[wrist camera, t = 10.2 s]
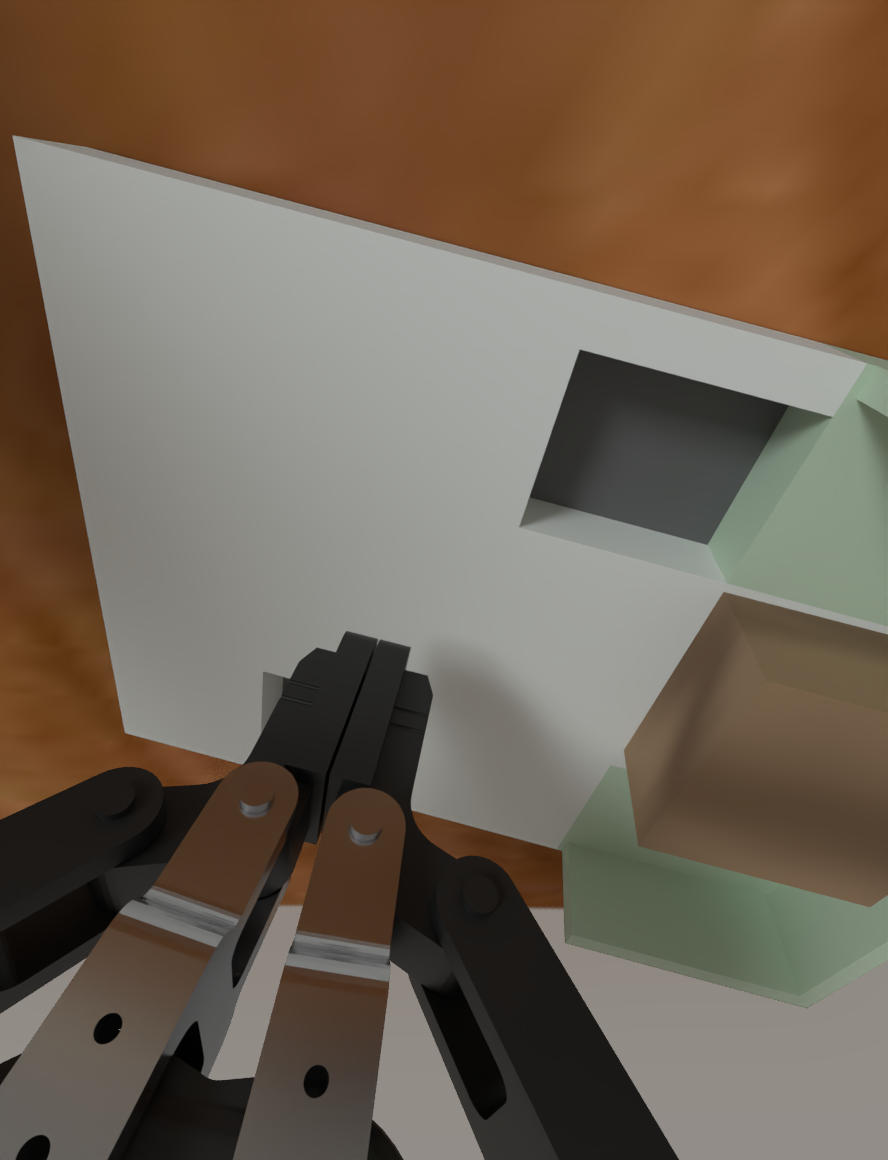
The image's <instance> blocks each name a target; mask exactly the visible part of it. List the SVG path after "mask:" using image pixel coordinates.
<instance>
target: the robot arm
mask: <svg viewBox="0 0 888 1160" xmlns="http://www.w3.org/2000/svg"><path fill="white" fill-rule="evenodd" d="M377 644H378V645H377ZM410 650H411V647H409V646H405V645H401V644H397V643H393V642H389V641H385V640H381V639H380V640H379V643H378V639H377V638H373V637H369V636H365V635H361V634H357V633H353V632H349V631H346V632H345V634H344V635H343V638H342V640H341V642H340V644H339V646H338V649H337V651H336V652H333V651H329V650H325V649H321V648H316V649H314V650H313V651H312V652H310V653H309V654H308V655H307V656H305V657H304V658H303V659H301V660H300V661H299V663H298V665H297V666H296V668H295V670H294V672H293V674H292V676H291V678H290V680H289V683H288V684H287V685H286V687H285V689H284V691H283V693H282V695H281V698H280V699H279V701H278V702H277V704H276V706H275V708H274V710H273V712H272V714H271V716H270V718H269V720H268V721H267V723H266V725H265V727H264V729H263V731H262V733H261V735H260V737H259V738H258V740H257V742H256V744H255V746H254V748H253V750H252V752H251V754H250V755H249V757H248V758H247V760H246V761H245V762H244V764H243V765H242V766H240V767H238V768H236V769H234V770H233V771H232V772H230V773H229V774H228V775H227V776H226V777H225V778H223V779H220V780H218V781H215V782H212V783H208V784H201V785H188V786H171V787H162V785H161V782H160V781H159V779H158V778H157V777H156V776H155V775H154V774H152V773H151V772H149V771H147V770H144V769H141V768H135V767H122V768H116V769H112V770H108V771H106V772H103V773H101V774H99V775H96V776H94V777H92V778H90V779H88V780H86V781H83V782H81V783H79V784H77V785H75V786H73V787H70V788H68V789H66V790H64V791H62V792H60V793H57V794H55V795H53V796H51V797H49V798H47V799H44V800H42V801H40V802H38V803H36V804H34V805H32V806H29V807H27V808H25V809H23V810H21V811H19V812H16V813H14V814H12V815H10V816H8V817H6V818H3V819H1V820H0V1013H2V1012H4V1011H5V1010H7V1009H8V1008H10V1007H11V1006H13V1005H14V1004H16V1003H17V1002H19V1001H21V1000H22V999H24V998H25V997H27V996H28V995H30V994H31V993H33V992H34V991H36V990H37V989H39V988H40V987H42V986H44V985H45V984H47V983H48V982H50V981H51V980H53V979H54V978H56V977H57V976H59V975H61V974H62V973H64V972H65V971H66V970H68V969H70V968H71V967H73V966H74V965H76V964H78V963H79V962H81V961H82V960H84V959H85V958H86V960H85V962H84V963H83V964H82V966H81V967H80V969H79V970H78V972H77V973H76V975H75V976H74V978H73V979H72V981H71V982H70V984H69V985H68V987H67V988H66V989H65V991H64V992H63V994H62V995H61V997H60V998H59V1000H58V1001H57V1003H56V1004H55V1006H54V1007H53V1009H52V1010H51V1012H50V1013H49V1015H48V1016H47V1017H46V1019H45V1020H44V1022H43V1023H42V1025H41V1026H40V1028H39V1029H38V1031H37V1032H36V1034H35V1035H34V1037H33V1038H32V1040H31V1041H30V1042H29V1044H28V1045H27V1047H26V1048H25V1050H24V1051H23V1053H22V1054H20V1055H18V1056H16V1057H13V1058H11V1059H9V1060H7V1061H5V1062H3V1063H1V1064H0V1160H403V1158H402V1156H401V1155H400V1153H399V1151H398V1150H397V1148H396V1146H395V1145H394V1144H393V1143H392V1141H391V1140H390V1138H389V1137H388V1136H387V1135H386V1133H385V1132H384V1131H383V1129H381V1127H380V1126H378V1125H377V1124H376V1123H375V1122H374V1121H373V1120H372V1117H373V1108H374V1100H375V1093H376V1085H377V1077H378V1069H379V1061H380V1054H381V1045H382V1038H383V1030H384V1022H385V1014H386V1006H387V998H388V990H389V979H390V961H391V962H393V963H394V964H396V965H397V966H398V967H400V968H401V969H402V970H404V971H405V972H406V973H408V975H409V979H410V981H411V984H412V987H413V989H414V992H415V994H416V996H417V999H418V1001H419V1004H420V1006H421V1008H422V1011H423V1013H424V1015H425V1018H426V1020H427V1023H428V1025H429V1027H430V1030H431V1032H432V1034H433V1037H434V1039H435V1042H436V1044H437V1047H438V1049H439V1051H440V1054H441V1056H442V1058H443V1061H444V1063H445V1066H446V1068H447V1070H448V1073H449V1075H450V1078H451V1080H452V1082H453V1085H454V1087H455V1090H456V1092H457V1094H458V1097H459V1099H460V1102H461V1104H462V1106H463V1109H464V1111H465V1114H466V1116H467V1118H468V1121H469V1123H470V1125H471V1128H472V1130H473V1133H474V1135H475V1137H476V1140H477V1142H478V1145H479V1147H480V1149H481V1152H482V1154H483V1157H484V1159H485V1160H679V1159H678V1157H677V1156H676V1154H675V1152H674V1151H673V1149H672V1147H671V1146H670V1144H669V1142H668V1141H667V1139H666V1137H665V1136H664V1134H663V1132H662V1131H661V1129H660V1128H659V1126H658V1124H657V1122H656V1121H655V1119H654V1117H653V1116H652V1114H651V1112H650V1111H649V1109H648V1107H647V1106H646V1104H645V1102H644V1101H643V1099H642V1097H641V1096H640V1094H639V1092H638V1090H637V1089H636V1087H635V1086H634V1084H633V1082H632V1081H631V1079H630V1077H629V1076H628V1074H627V1072H626V1070H625V1069H624V1067H623V1065H622V1064H621V1062H620V1060H619V1059H618V1057H617V1055H616V1054H615V1052H614V1050H613V1049H612V1047H611V1045H610V1044H609V1042H608V1040H607V1039H606V1037H605V1035H604V1034H603V1032H602V1030H601V1029H600V1027H599V1025H598V1024H597V1022H596V1020H595V1019H594V1017H593V1015H592V1014H591V1012H590V1010H589V1009H588V1007H587V1005H586V1004H585V1002H584V1000H583V999H582V997H581V995H580V994H579V992H578V990H577V989H576V987H575V985H574V983H573V982H572V980H571V978H570V977H569V975H568V973H567V972H566V970H565V968H564V967H563V965H562V963H561V962H560V960H559V959H558V957H557V955H556V953H555V952H554V950H553V949H552V947H551V945H550V943H549V942H548V940H547V938H546V937H545V935H544V933H543V932H542V930H541V928H540V927H539V925H538V923H537V922H536V920H535V919H534V917H533V915H532V913H531V912H530V910H529V908H528V907H527V905H526V903H525V902H524V900H523V898H522V897H521V895H520V893H519V892H518V890H517V888H516V886H515V885H514V883H513V881H512V880H511V878H510V877H509V876H508V874H507V873H506V872H505V871H504V870H503V869H502V868H501V867H500V866H499V865H497V864H496V863H494V862H493V861H491V860H489V859H486V858H483V857H479V856H465V857H461V858H459V859H455V858H454V857H452V856H451V855H449V854H448V853H446V852H445V851H443V850H442V849H440V848H438V847H437V846H435V845H434V844H433V843H431V842H430V841H429V840H428V839H427V838H426V837H425V836H424V835H423V834H422V833H421V831H420V830H419V829H418V827H417V825H416V823H415V821H414V818H413V815H412V810H411V797H412V791H413V787H414V782H415V778H416V773H417V768H418V764H419V759H420V754H421V750H422V745H423V740H424V736H425V731H426V726H427V722H428V717H429V712H430V708H431V703H432V698H433V693H432V689H431V685H430V682H429V678H428V676H427V675H423V674H419V673H415V672H412V671H408V670H406V667H407V663H408V659H409V655H410ZM321 830H322V833H321ZM320 833H321V839H320V843H319V847H318V851H317V854H316V858H315V862H314V866H313V870H312V873H311V877H310V881H309V885H308V889H307V892H306V896H305V900H304V904H303V908H302V912H301V916H300V919H299V923H298V927H297V930H296V934H295V938H294V941H293V943H292V946H291V947H290V950H289V953H288V956H287V960H286V963H285V966H284V970H283V973H282V977H281V981H280V984H279V988H278V992H277V996H276V1000H275V1003H274V1007H273V1011H272V1014H271V1018H270V1023H269V1026H268V1030H267V1033H266V1037H265V1041H264V1044H263V1048H262V1052H261V1056H260V1059H259V1063H258V1067H257V1071H256V1074H255V1077H254V1078H253V1077H252V1078H243V1079H232V1080H221V1081H220V1080H217V1081H216V1080H211V1079H209V1078H208V1076H209V1073H210V1071H211V1069H212V1067H213V1065H214V1062H215V1060H216V1058H217V1055H218V1053H219V1051H220V1049H221V1046H222V1044H223V1041H224V1039H225V1036H226V1034H227V1031H228V1028H229V1026H230V1023H231V1020H232V1017H233V1014H234V1010H235V1006H236V1003H237V1000H238V997H239V994H240V992H241V989H242V987H243V985H244V982H245V980H246V977H247V976H248V973H249V971H250V969H251V966H252V964H253V962H254V960H255V958H256V955H257V953H258V951H259V949H260V946H261V944H262V942H263V940H264V938H265V935H266V933H267V931H268V929H269V927H270V924H271V922H272V920H273V918H274V915H275V913H276V911H277V909H278V907H279V904H280V902H281V900H282V898H283V895H284V893H285V891H286V889H287V887H288V884H289V881H290V879H291V874H292V872H293V870H294V868H295V865H296V862H297V860H298V857H299V854H300V851H301V849H302V846H303V843H304V842H308V843H312V844H317V841H318V838H319V835H320ZM389 960H390V961H389ZM118 1029H121V1030H118Z"/></svg>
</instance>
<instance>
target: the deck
mask: <svg viewBox="0 0 888 1160" xmlns="http://www.w3.org/2000/svg"><path fill="white" fill-rule="evenodd" d="M12 136H13V135H12ZM13 141H14V146H15V152H16V157H17V162H18V168H19V173H20V178H21V184H22V189H23V194H24V199H25V205H26V210H27V215H28V221H29V226H30V231H31V237H32V242H33V247H34V253H35V258H36V263H37V268H38V274H39V279H40V284H41V290H42V295H43V300H44V306H45V311H46V316H47V322H48V327H49V332H50V337H51V343H52V348H53V353H54V359H55V364H56V369H57V375H58V380H59V385H60V391H61V396H62V401H63V406H64V412H65V417H66V422H67V428H68V433H69V438H70V444H71V449H72V454H73V460H74V465H75V470H76V475H77V481H78V486H79V491H80V497H81V502H82V507H83V513H84V518H85V523H86V528H87V534H88V539H89V544H90V550H91V555H92V560H93V566H94V571H95V576H96V582H97V587H98V592H99V597H100V603H101V608H102V613H103V619H104V624H105V629H106V635H107V640H108V645H109V651H110V656H111V661H112V666H113V672H114V677H115V682H116V688H117V693H118V698H119V704H120V709H121V714H122V720H123V725H124V730H125V733H127V734H131V735H134V736H138V737H142V738H146V739H149V740H153V741H157V742H160V743H164V744H168V745H172V746H175V747H179V748H183V749H186V750H190V751H194V752H197V753H201V754H205V755H209V756H212V757H216V758H220V759H223V760H227V761H231V762H235V763H238V764H242V765H243V764H244V762H245V761H246V760H247V758H248V757H249V755H250V754H251V752H252V750H253V748H254V746H255V744H256V742H257V740H258V738H259V737H260V735H261V733H262V731H263V729H264V727H265V725H266V723H267V721H268V720H269V718H270V716H271V714H272V712H273V710H274V708H275V706H276V704H277V702H278V701H279V699H280V698H281V695H282V693H283V691H284V689H285V687H286V685H287V684H288V683H289V680H290V678H291V676H292V674H293V672H294V670H295V668H296V666H297V665H298V663H299V661H300V660H301V659H303V658H304V657H305V656H307V655H308V654H309V653H310V652H312V651H313V650H314V649H316V648H321V649H325V650H329V651H333V652H336V651H337V649H338V646H339V644H340V642H341V640H342V638H343V635H344V634H345V632H346V631H349V632H353V633H357V634H361V635H365V636H369V637H373V638H377V639H378V643H379V640H380V639H381V640H385V641H389V642H393V643H397V644H401V645H405V646H409V647H411V650H410V655H409V659H408V663H407V667H406V670H408V671H412V672H415V673H419V674H423V675H427V676H428V678H429V682H430V685H431V689H432V693H433V698H432V703H431V708H430V712H429V717H428V722H427V726H426V731H425V736H424V740H423V745H422V750H421V754H420V759H419V764H418V768H417V773H416V778H415V782H414V787H413V791H412V797H411V810H412V811H416V812H420V813H424V814H427V815H431V816H435V817H438V818H442V819H446V820H449V821H453V822H457V823H461V824H464V825H468V826H472V827H475V828H479V829H483V830H487V831H490V832H494V833H498V834H501V835H505V836H509V837H512V838H516V839H520V840H524V841H527V842H531V843H535V844H538V845H542V846H546V847H550V848H553V849H557V850H561V851H562V864H563V897H564V927H565V928H564V929H565V943H567V944H571V945H575V946H578V947H582V948H586V949H589V950H593V951H597V952H600V953H604V954H608V955H612V956H615V957H619V958H623V959H626V960H630V961H634V962H637V963H641V964H645V965H649V966H652V967H656V968H660V969H663V970H667V971H671V972H674V973H678V974H682V975H686V976H689V977H693V978H697V979H700V980H704V981H708V982H711V983H715V984H719V985H723V986H726V987H730V988H734V989H738V990H741V991H745V992H749V993H752V994H756V995H760V996H763V997H767V998H771V999H774V1000H778V1001H782V1002H785V1003H790V1004H793V1005H797V1006H800V1007H804V1008H808V1007H810V1006H812V1005H813V1004H815V1003H817V1002H818V1001H820V1000H822V999H823V998H825V997H827V996H828V995H830V994H832V993H833V992H835V991H837V990H839V989H840V988H842V987H844V986H845V985H847V984H849V983H850V982H852V981H854V980H855V979H857V978H859V977H860V976H862V975H864V974H865V973H867V972H869V971H871V970H872V969H874V968H876V967H877V966H879V965H881V964H882V963H884V962H886V961H887V960H888V895H887V896H886V897H884V898H883V899H881V900H880V901H879V902H877V903H876V904H874V905H873V906H872V907H867V906H863V905H859V904H855V903H852V902H848V901H844V900H840V899H837V898H833V897H829V896H825V895H821V894H818V893H814V892H810V891H806V890H802V889H799V888H795V887H791V886H787V885H783V884H780V883H776V882H772V881H768V880H765V879H761V878H757V877H753V876H749V875H746V874H742V873H738V872H734V871H730V870H727V869H723V868H719V867H715V866H711V865H708V864H704V863H700V862H696V861H693V860H689V859H685V858H681V857H677V856H674V855H670V854H666V853H662V852H658V851H655V850H651V849H647V848H643V847H639V846H638V840H637V834H636V827H635V821H634V814H633V808H632V801H631V795H630V788H629V782H628V775H627V768H626V762H625V755H624V749H625V748H626V746H627V744H628V743H629V741H630V740H631V738H632V736H633V735H634V733H635V732H636V730H637V729H638V727H639V725H640V724H641V722H642V721H643V719H644V717H645V716H646V714H647V713H648V711H649V709H650V708H651V706H652V705H653V703H654V702H655V700H656V698H657V697H658V695H659V694H660V692H661V690H662V689H663V687H664V686H665V684H666V682H667V681H668V679H669V678H670V676H671V675H672V673H673V671H674V670H675V668H676V667H677V665H678V663H679V662H680V660H681V659H682V657H683V655H684V654H685V652H686V651H687V649H688V647H689V646H690V644H691V643H692V641H693V640H694V638H695V636H696V635H697V633H698V632H699V630H700V628H701V627H702V625H703V624H704V622H705V620H706V619H707V617H708V616H709V614H710V613H711V611H712V609H713V608H714V606H715V605H716V603H717V601H718V600H719V598H720V597H721V595H722V593H723V592H726V593H730V594H734V595H738V596H742V597H746V598H749V599H753V600H757V601H761V602H765V603H769V604H772V605H776V606H780V607H784V608H788V609H792V610H796V611H799V612H803V613H807V614H811V615H815V616H819V617H823V618H826V619H830V620H834V621H838V622H842V623H846V624H849V625H853V626H857V627H861V628H865V629H869V630H873V631H876V632H880V633H884V634H888V361H887V360H884V359H880V358H876V357H872V356H869V355H865V354H861V353H857V352H854V351H850V350H846V349H842V348H839V347H835V346H831V345H827V344H824V343H820V342H816V341H812V340H809V339H805V338H801V337H797V336H794V335H790V334H786V333H782V332H779V331H775V330H771V329H767V328H764V327H760V326H756V325H752V324H749V323H745V322H741V321H737V320H734V319H730V318H726V317H722V316H719V315H715V314H711V313H707V312H704V311H700V310H696V309H692V308H689V307H685V306H681V305H677V304H674V303H670V302H666V301H662V300H659V299H655V298H651V297H647V296H644V295H640V294H636V293H632V292H629V291H625V290H621V289H617V288H614V287H610V286H606V285H602V284H599V283H595V282H591V281H587V280H584V279H580V278H576V277H572V276H569V275H565V274H561V273H557V272H554V271H550V270H546V269H543V268H539V267H535V266H531V265H528V264H524V263H520V262H516V261H513V260H509V259H505V258H501V257H498V256H494V255H490V254H486V253H483V252H479V251H475V250H471V249H468V248H464V247H460V246H456V245H453V244H449V243H445V242H441V241H438V240H434V239H430V238H426V237H423V236H419V235H415V234H411V233H408V232H404V231H400V230H396V229H393V228H389V227H385V226H381V225H378V224H374V223H370V222H366V221H363V220H359V219H355V218H351V217H348V216H344V215H340V214H336V213H333V212H329V211H325V210H321V209H318V208H314V207H310V206H306V205H303V204H299V203H295V202H291V201H288V200H284V199H280V198H276V197H273V196H269V195H265V194H261V193H258V192H254V191H250V190H246V189H243V188H239V187H235V186H231V185H228V184H224V183H220V182H216V181H213V180H209V179H205V178H201V177H198V176H194V175H190V174H186V173H183V172H179V171H175V170H171V169H168V168H164V167H160V166H156V165H153V164H149V163H145V162H141V161H138V160H134V159H130V158H126V157H123V156H119V155H115V154H111V153H108V152H104V151H100V150H96V149H93V148H89V147H83V146H77V145H70V144H64V143H58V142H51V141H45V140H38V139H32V138H26V137H19V136H13ZM377 645H378V644H377Z"/></svg>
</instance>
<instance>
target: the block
mask: <svg viewBox="0 0 888 1160" xmlns="http://www.w3.org/2000/svg"><path fill="white" fill-rule="evenodd" d="M624 755H625V762H626V768H627V775H628V782H629V788H630V795H631V801H632V808H633V814H634V821H635V827H636V834H637V840H638V846H639V847H643V848H647V849H651V850H655V851H658V852H662V853H666V854H670V855H674V856H677V857H681V858H685V859H689V860H693V861H696V862H700V863H704V864H708V865H711V866H715V867H719V868H723V869H727V870H730V871H734V872H738V873H742V874H746V875H749V876H753V877H757V878H761V879H765V880H768V881H772V882H776V883H780V884H783V885H787V886H791V887H795V888H799V889H802V890H806V891H810V892H814V893H818V894H821V895H825V896H829V897H833V898H837V899H840V900H844V901H848V902H852V903H855V904H859V905H863V906H867V907H872V906H873V905H874V904H876V903H877V902H879V901H880V900H881V899H883V898H884V897H886V896H887V895H888V634H884V633H880V632H876V631H873V630H869V629H865V628H861V627H857V626H853V625H849V624H846V623H842V622H838V621H834V620H830V619H826V618H823V617H819V616H815V615H811V614H807V613H803V612H799V611H796V610H792V609H788V608H784V607H780V606H776V605H772V604H769V603H765V602H761V601H757V600H753V599H749V598H746V597H742V596H738V595H734V594H730V593H726V592H723V593H722V595H721V597H720V598H719V600H718V601H717V603H716V605H715V606H714V608H713V609H712V611H711V613H710V614H709V616H708V617H707V619H706V620H705V622H704V624H703V625H702V627H701V628H700V630H699V632H698V633H697V635H696V636H695V638H694V640H693V641H692V643H691V644H690V646H689V647H688V649H687V651H686V652H685V654H684V655H683V657H682V659H681V660H680V662H679V663H678V665H677V667H676V668H675V670H674V671H673V673H672V675H671V676H670V678H669V679H668V681H667V682H666V684H665V686H664V687H663V689H662V690H661V692H660V694H659V695H658V697H657V698H656V700H655V702H654V703H653V705H652V706H651V708H650V709H649V711H648V713H647V714H646V716H645V717H644V719H643V721H642V722H641V724H640V725H639V727H638V729H637V730H636V732H635V733H634V735H633V736H632V738H631V740H630V741H629V743H628V744H627V746H626V748H625V749H624Z"/></svg>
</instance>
